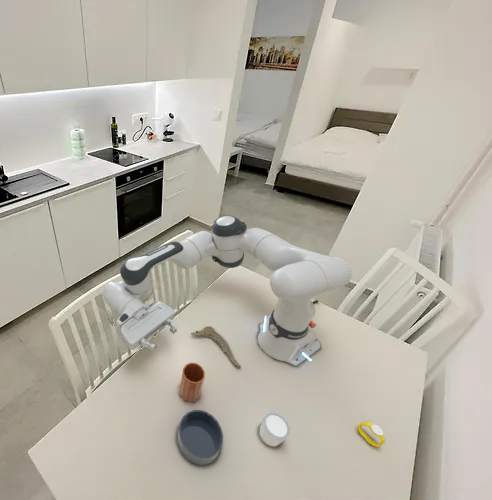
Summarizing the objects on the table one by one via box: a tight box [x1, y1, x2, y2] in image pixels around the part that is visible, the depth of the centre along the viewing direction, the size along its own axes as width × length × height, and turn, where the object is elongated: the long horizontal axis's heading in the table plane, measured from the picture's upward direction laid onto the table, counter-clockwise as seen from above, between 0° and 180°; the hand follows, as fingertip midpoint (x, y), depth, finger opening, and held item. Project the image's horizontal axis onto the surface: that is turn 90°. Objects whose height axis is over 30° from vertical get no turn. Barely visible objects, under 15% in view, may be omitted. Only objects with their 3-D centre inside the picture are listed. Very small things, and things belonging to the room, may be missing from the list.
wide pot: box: [177, 409, 224, 466], centre depth 79 cm, size 12×12×6 cm
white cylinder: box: [259, 412, 291, 447], centre depth 80 cm, size 7×7×7 cm
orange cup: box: [179, 362, 206, 403], centre depth 88 cm, size 6×6×12 cm
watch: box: [357, 421, 386, 448], centre depth 80 cm, size 6×3×6 cm, turn 27°
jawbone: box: [190, 325, 242, 369], centre depth 106 cm, size 9×20×2 cm, turn 49°
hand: (165, 339), depth 89 cm, fingers open, 8 cm apart
